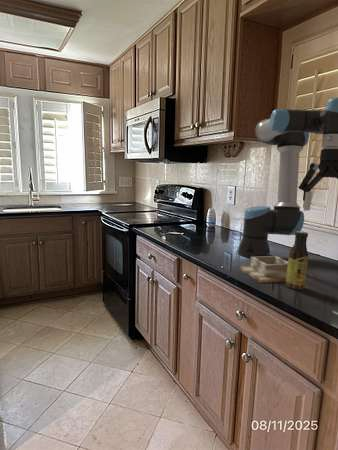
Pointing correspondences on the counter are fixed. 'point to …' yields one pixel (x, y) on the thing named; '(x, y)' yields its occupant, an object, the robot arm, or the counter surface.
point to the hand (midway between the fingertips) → (325, 213)
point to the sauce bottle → (297, 262)
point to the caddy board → (267, 269)
